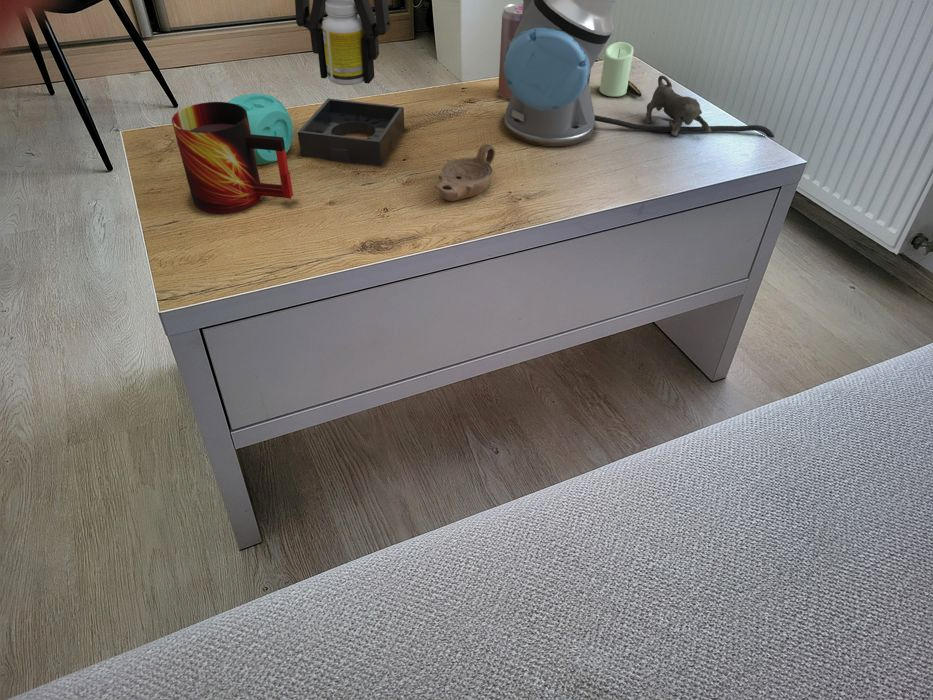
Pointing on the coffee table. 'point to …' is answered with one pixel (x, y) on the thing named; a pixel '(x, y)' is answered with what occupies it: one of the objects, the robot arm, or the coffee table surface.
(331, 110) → the dark grey storage tray
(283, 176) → the mug
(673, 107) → the dog figurine
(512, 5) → the beverage can
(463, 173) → the oil lamp
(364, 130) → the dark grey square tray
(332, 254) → the coffee table surface
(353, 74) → the pill bottle
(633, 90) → the dark small wedge
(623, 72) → the candle
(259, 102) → the decorative dice
